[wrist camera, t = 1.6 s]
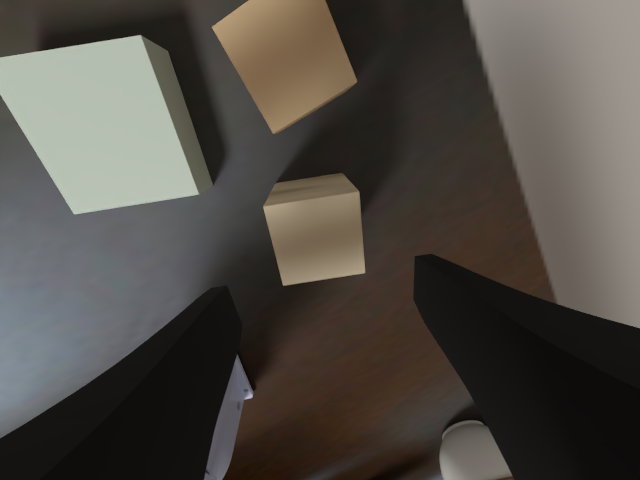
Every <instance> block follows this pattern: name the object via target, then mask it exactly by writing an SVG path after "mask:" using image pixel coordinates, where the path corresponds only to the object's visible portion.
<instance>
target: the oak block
mask: <svg viewBox="0 0 640 480" xmlns="http://www.w3.org/2000/svg"><path fill="white" fill-rule="evenodd" d="M212 28H213V30H214V32H215V33H216V35H217V37H218V39H219V40H220V42H221V44H222V46H223V47H224V49H225V51H226V53H227V54H228V56H229V58H230V59H231V61H232V63H233V65H234V66H235V68H236V70H237V72H238V73H239V75H240V77H241V79H242V80H243V82H244V84H245V85H246V87H247V89H248V91H249V92H250V94H251V96H252V98H253V99H254V101H255V103H256V105H257V106H258V108H259V110H260V112H261V113H262V115H263V117H264V118H265V120H266V122H267V124H268V125H269V127H270V129H271V131H272V132H273V134H275V133H280V132H282V131H284V130H285V129H287V128H288V127H290V126H292V125H293V124H295V123H297V122H298V121H300V120H301V119H303V118H305V117H306V116H308V115H310V114H311V113H313V112H314V111H316V110H318V109H319V108H321V107H323V106H324V105H326V104H327V103H329V102H331V101H332V100H334V99H336V98H337V97H339V96H340V95H342V94H344V93H345V92H346V91H348V90H349V89H350V88H351V87H352V86H353V85H354V84H355V83H357V79H356V77H355V74H354V72H353V69H352V66H351V64H350V61H349V59H348V56H347V54H346V51H345V49H344V46H343V44H342V41H341V39H340V36H339V34H338V31H337V28H336V26H335V23H334V21H333V18H332V16H331V13H330V11H329V8H328V6H327V3H326V1H325V0H248V1H247V2H246V3H244V4H243V5H242V6H240V7H239V8H238V9H236V10H235V11H233V12H232V13H231V14H229V15H228V16H227V17H225V18H224V19H222V20H221V21H220V22H218V23H217V24H216V25H214V26H213V27H212Z"/></svg>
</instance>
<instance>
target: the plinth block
mask: <svg viewBox="0 0 640 480" xmlns="http://www.w3.org/2000/svg"><path fill="white" fill-rule="evenodd" d="M0 95H1V96H2V98H3V100H4V101H5V103H6V104H7V106H8V108H9V109H10V111H11V113H12V114H13V116H14V117H15V119H16V121H17V122H18V124H19V126H20V127H21V129H22V130H23V132H24V134H25V135H26V137H27V139H28V140H29V142H30V143H31V145H32V147H33V148H34V150H35V152H36V153H37V155H38V156H39V158H40V160H41V161H42V163H43V165H44V166H45V168H46V169H47V171H48V173H49V174H50V176H51V178H52V179H53V181H54V182H55V184H56V186H57V187H58V189H59V191H60V192H61V194H62V195H63V197H64V199H65V200H66V202H67V204H68V205H69V207H70V208H71V210H72V212H73V213H74V214H80V213H86V212H92V211H99V210H105V209H111V208H117V207H124V206H130V205H136V204H142V203H149V202H155V201H161V200H167V199H174V198H180V197H186V196H192V195H199V194H201V193H202V192H204V191H205V190H207V189H209V188H210V187H212V186H213V184H212V181H211V178H210V175H209V172H208V169H207V166H206V163H205V160H204V157H203V154H202V151H201V148H200V145H199V142H198V139H197V136H196V133H195V130H194V127H193V124H192V121H191V118H190V115H189V112H188V109H187V106H186V103H185V100H184V97H183V94H182V91H181V88H180V86H179V83H178V80H177V77H176V74H175V71H174V68H173V65H172V62H171V59H170V56H169V53H168V51H167V50H165V49H163V48H162V47H160V46H158V45H157V44H155V43H153V42H152V41H150V40H148V39H146V38H145V37H143V36H141V35H138V36H132V37H126V38H119V39H113V40H107V41H101V42H95V43H88V44H82V45H76V46H70V47H64V48H57V49H51V50H45V51H39V52H33V53H27V54H20V55H14V56H8V57H2V58H0Z"/></svg>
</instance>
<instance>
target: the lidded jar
mask: <svg viewBox="0 0 640 480" xmlns="http://www.w3.org/2000/svg"><path fill="white" fill-rule="evenodd" d="M442 439H443V441H442V444H441V447H440V456H439V460H440V468H441V473H442V477H443V480H514V478H513V476H512V474H511V472H510V470H509V468H508V466H507V464H506V462H505V460H504V458H503V456H502V454H501V452H500V450H499V448H498V446H497V444H496V442H495V440H494V438H493V436H492V434H491V432H490V430H489V428H488V427H487V426H485V425H484V424H483V423H482V422H480V421H477V420H466V421H461V422H458V423H455V424H453V425H452V426H450V427H448V428H447V429H446V430H445V431H444V433H443V435H442Z"/></svg>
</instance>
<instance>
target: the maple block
mask: <svg viewBox="0 0 640 480" xmlns="http://www.w3.org/2000/svg"><path fill="white" fill-rule="evenodd" d="M263 208H264V212H265V216H266V220H267V224H268V228H269V232H270V236H271V240H272V244H273V248H274V252H275V256H276V260H277V264H278V267H279V271H280V275H281V279H282V283H283V286H285V285H292V284H298V283H304V282H311V281H317V280H324V279H330V278H337V277H343V276H350V275H356V274H362V273H365V264H364V250H363V236H362V222H361V208H360V194H359V191H358V190H357V188H356V187H355V186H354V185H353V184H352V183H351V182H350V181H349V180H348V179H347V177H346V176H345V175H344V174H343V173H337V174H331V175H325V176H318V177H312V178H305V179H299V180H292V181H286V182H280V183H275V185H274V187H273V189H272V191H271V193H270V194H269V196H268V198H267V200H266V202H265V204H264V206H263Z"/></svg>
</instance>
